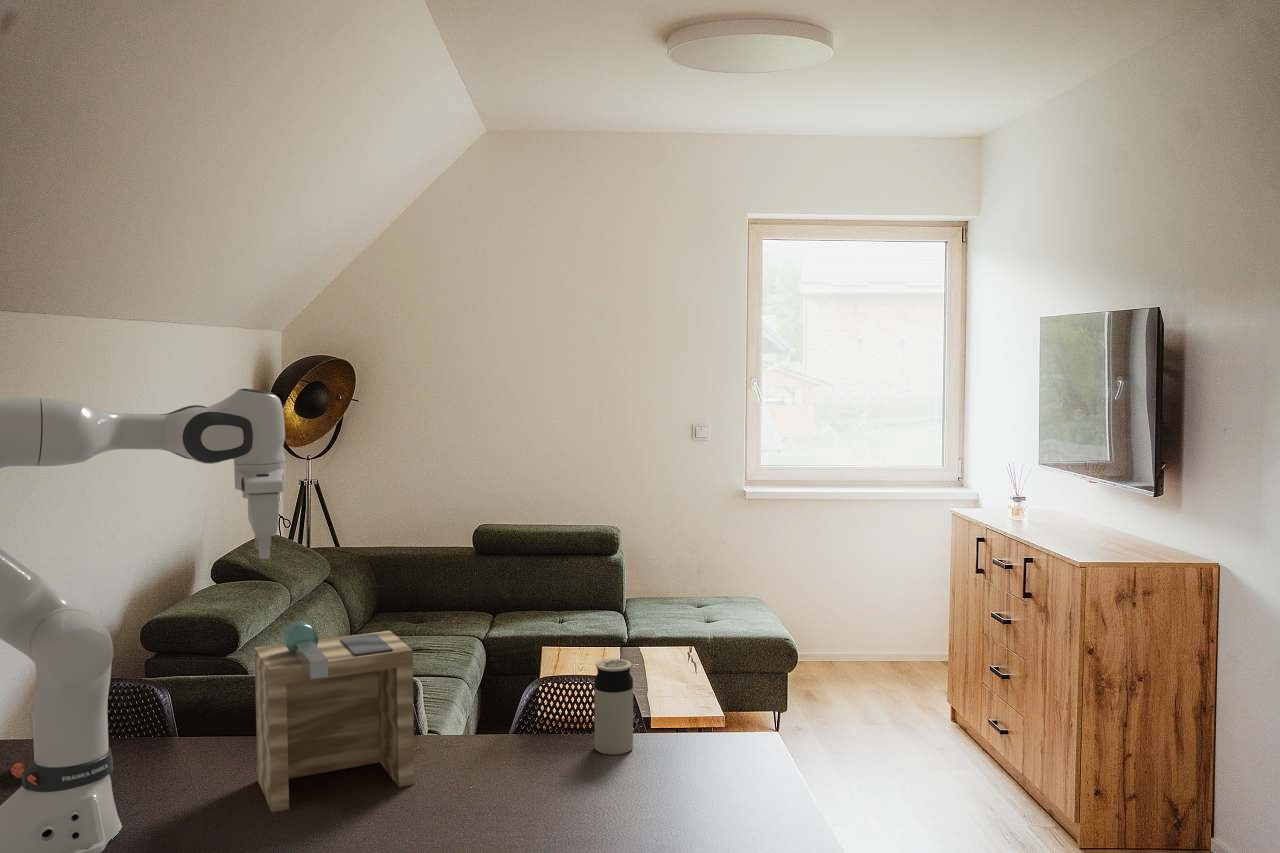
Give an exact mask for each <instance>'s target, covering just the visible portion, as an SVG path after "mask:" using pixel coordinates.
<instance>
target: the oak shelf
mask: <svg viewBox="0 0 1280 853" xmlns="http://www.w3.org/2000/svg"><path fill="white" fill-rule="evenodd" d="M317 647H318V648H319V649H320V650H321V652H322V653H323V654H324V655H325V656H326V658H327V659H328V676H327V677H320V678H313V679H310V678H309V676H308V675H307V673H306V672H305V671H304V669H303V668H302V667H301V665H300V664H299V663H298V661H297V660H296V659H295V657H294V656H293V655H292V653H291V652H290V651H289V650H288V648H287V647H286V646H285V644H284V643H281V644H273V645H265V646H257V647H254V673H255V674H254V676H255V677H254V679H255V680H254V681H255V682H254V683H255V723H256V724H255V726H256V727H255V728H256V763H257V764H256V765H257V782H258V785H259V784H260V785H259V787H260V786H261V787H260V789H261V788H262V789H261V791H263V792H262V793H264V794H263V796H264V795H265V796H264V798H265V800H267V801H266V803H267V805H268V807H270V808H269V809H270V812H271V813H275V812H282V811H286V810H289V809H290V790H289V787H290V784H289V780H290V778H291V779H296V778H301V776H302V777H307V776H311V775H319V774H322V773H323V774H324V773H328V772H329V773H330V772H333V771H339V770H345V769H349V768H350V769H351V768H356V767H361V766H367V765H372V764H377V763H380V764H381V766H382V765H383V766H382V767H383V769H385V771H386V772H387V773H389V774H388V776H390V778H391V777H392V778H391V779H392V780H393V781H395V782H394V783H395V784H396V786H397V787H398V788H402V787H408V786H414V785H415V736H414V735H415V730H414V729H415V728H414V726H415V725H414V662H413V660H414V659H413V656H414V655H413V649H412V648H411V647H410V646H408V645H407V644H406V643H405V642H404V641H403V640H401V638H400V637H398V636H397V635H396V634H394V632H392V631H391V630H384V631H376V632H369V633H359V634H352V635H344V636H337V637H336V636H335V637H328V638H321V639H319V638H318V645H317Z"/></svg>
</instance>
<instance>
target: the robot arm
mask: <svg viewBox="0 0 1280 853" xmlns="http://www.w3.org/2000/svg"><path fill="white" fill-rule="evenodd" d="M285 426H286V424H285V415H284V409H283V404H282V401H281V399H280V397H278V396H277V395H276V394H274V392H270V391H267V390H259V389H251V388H240V389H236V391H235V392H234V393H233V394H231V395H230V396H228V397H227V398H226V397H225V399H223V400H221V401H219V402H217V403H214V404H211V405H209V406H205V405H198V404H197V405H196V404H195V405H193V404H191V405H187V406H184V407H181V408H179V409H176V410H173V411H171V412H168V413H164V414H159V413H158V414H157V413H155V414H154V413H153V414H152V413H151V414H149V413H147V414H146V413H116V412H109V411H105V410H102V409H98V408H96V407H93V406H91V405H89V404H85V403H80V402H76V401H70V400H64V399H56V398H45V397H14V398H13V397H10V398H8V397H7V398H0V469H3V468H9V467H58V466H65V465H68V466H69V465H73V464H79V463H83V462H86V461H88V460H90V459H92V458H93V457H95V456H97V455H99V454H102V453H105V452H108V451H109V452H110V451H115V450H161V451H166V452H170V453H172V454H175V455H176V456H179V457H181V458H184V459H186V460H187V459H188V460H192V461H195V462H198V463H201V464H207V465H212V464H218V463H222V462H225V461H228V460H233V465H234V466H233V467H234V468H233V469H234V470H233V472H234V475H233V476H234V489H235V490H239V491H241V493H242V495H241V496H242V498H243V499H246V500H247V516H248V517H247V518H248V519H247V520H248V522H249V523H250V526H251V529H252V531H253V534H254V543H255V546H254V547H255V549H256V550H258V557H259V559H261V560H268V559H270V558H271V543H272V537H275V536H276V535H277V533H278V528H279V516H280V503H281V502H280V500H281V498H280V496H281V494H280V493H283V492H284V488H286V487H287V462H286V461H287V459H286V456H285V452H284V443H285V440H286V427H285ZM0 640H2V642H5V643H7V644H8V645H10V646H11V647H13V648H15V650H17V651H19V652H21V653H22V654H24V655H25V656H26V657H28V658H29V659H30V660H32V662H33V663H34V667H35V671H36V673H35V674H36V677H35V678H36V681H35V683H36V684H35V694H34V695H35V699H34V708H33V711H32V712H33V713H32V732H33V733H32V734H33V735H32V737H33V760H31V762H30V763H29V765H28V766H25V765H24V764H23V763H20V762H18V763H15V764H14V765H13V766H12V767H11V770H10V772H11V774H12V775H13V776H14V777H16V778H18V779H21V786H20V787H19V788H18V789H17V790H16V791H15V792H14V793H13V794H12V795H11V796H9V798H7V800H5V801H4V802H3V803H2V804H1V805H0V853H102V852H103V851H104V850H105V848H106V846H107V844H109V841H110V840H111V839H112V840H114V839H115V838H116V837H117V836H118V835H119V834H120V833H119V831H120V830H121V828H122V829H123V825H122V823H121V820H120V817H119V815H118V812H117V807H116V803H115V800H114V799H115V798H114V793H113V786H112V780H113V770H114V762H113V756H112V755H113V754H112V749H111V747H110V746H109V724H108V722H109V719H108V716H109V715H108V702H109V701H108V699H109V692H110V685H111V674H112V663H113V662H112V661H113V658H114V645H113V644H114V643H113V640H112V636H111V633H110V631H109V630H108V628H107V627H105V625H104V624H102V623H101V622H100V621H99V620H98V619H97V618H96V617H95V616H93V615H92V614H91V613H90V612H89V611H88V610H87V609H85V608H84V607H83V606H82V605H80V604H79V603H77V602H76V601H74V600H73V599H71V598H70V597H69V596H68V595H66V594H65V593H63V592H62V591H60V590H59V589H58V588H56V587H55V586H53V585H52V584H51V583H49V582H48V581H46V580H45V579H43V578H42V577H40V576H39V575H37V573H36V572H34V571H32V570H31V569H29V568H28V567H27V566H25V565H24V564H23V563H22V562H20V561H19V560H17V559H16V558H14V557H13V556H12V555H10V554H9V553H8V552H6V551H5V550H4V549H2V548H1V547H0ZM121 831H122V830H121ZM118 833H119V834H118ZM117 834H118V835H117ZM116 835H117V836H116ZM115 836H116V837H115ZM114 837H115V838H114ZM113 838H114V839H113ZM112 840H111V841H112ZM111 841H110V842H111Z"/></svg>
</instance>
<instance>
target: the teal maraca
mask: <svg viewBox="0 0 1280 853" xmlns="http://www.w3.org/2000/svg"><path fill="white" fill-rule="evenodd" d="M281 635H282V636H281V637H282V642H283V644H285V646H286V647H287V648H288V650H289V651H290V652H291V653H292V655H293V656H294V657H295V659H296V660H297V661H298V663H299V664H300V665H301V667H302V668H303V669H304V671H305V672H306V673H307V675H308V676H309V678H310V679H313V678H320V677H327V676H328V659H327V658H326V656H325V655H324V654H323V653H322V652H321V650H320V649H319V648H318V647H317V645H318V640H319V635H318V633H317V631H316V630H315V629H314V628H313V627H312V626H311V625H310V624H309V623H308V622H307V621H304V620H294V621H291V622H289V623H288V624H287V625H286V626H285V628H284V629H283V631H282V634H281Z"/></svg>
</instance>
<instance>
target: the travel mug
mask: <svg viewBox="0 0 1280 853" xmlns="http://www.w3.org/2000/svg"><path fill="white" fill-rule="evenodd" d="M632 665H633V664H632V662H631V661H629V660H626V659H622V658H606V659H602V660H598V661H597V662H596V663H595V667H596V670H597V671H596V672H597V674H596V676H595V677H594V680H593V681H594V685H593V686H594V750H596V751H597V752H599V753H601V754H603V755H610V756H616V755H617V756H618V755H624V754H626V753H628V752H630V751H632V750H633V748H634V678H633V677H632V675H631V673H630V672H631V668H632Z"/></svg>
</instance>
